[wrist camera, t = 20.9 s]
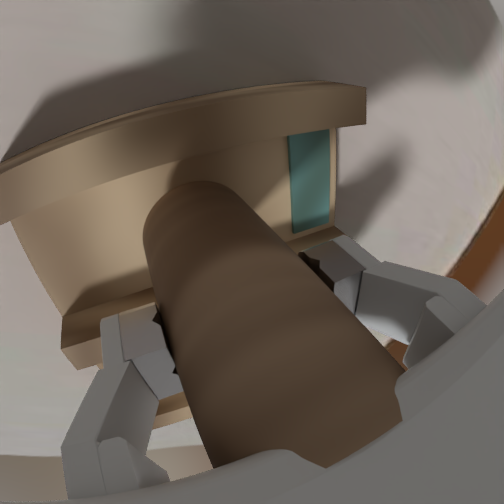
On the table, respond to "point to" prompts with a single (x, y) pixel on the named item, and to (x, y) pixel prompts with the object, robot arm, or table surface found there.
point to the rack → (162, 181)
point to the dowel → (261, 335)
